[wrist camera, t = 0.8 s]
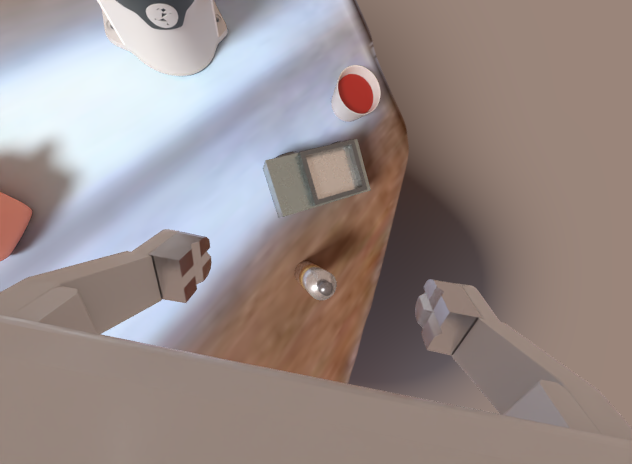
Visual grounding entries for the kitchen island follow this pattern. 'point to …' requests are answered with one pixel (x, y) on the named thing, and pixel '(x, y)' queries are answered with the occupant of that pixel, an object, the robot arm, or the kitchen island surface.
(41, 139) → the kitchen island surface
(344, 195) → the green tray box
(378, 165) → the kitchen island surface
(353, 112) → the candle
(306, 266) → the frosted glass bottle
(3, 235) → the teapot
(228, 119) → the kitchen island surface
